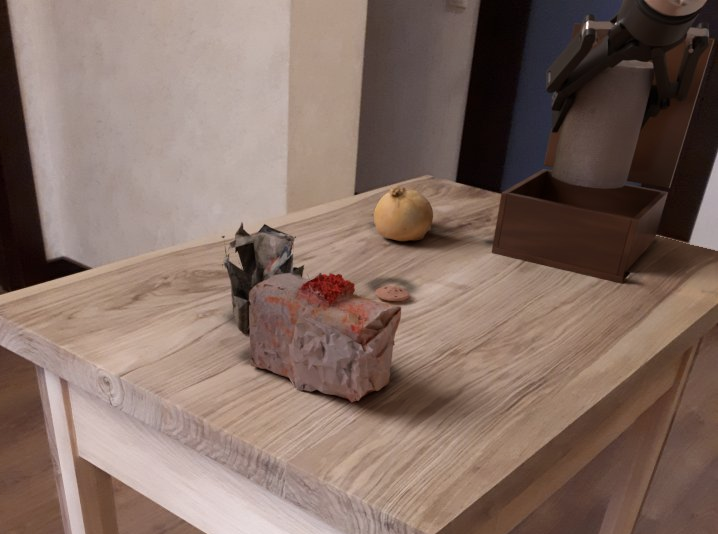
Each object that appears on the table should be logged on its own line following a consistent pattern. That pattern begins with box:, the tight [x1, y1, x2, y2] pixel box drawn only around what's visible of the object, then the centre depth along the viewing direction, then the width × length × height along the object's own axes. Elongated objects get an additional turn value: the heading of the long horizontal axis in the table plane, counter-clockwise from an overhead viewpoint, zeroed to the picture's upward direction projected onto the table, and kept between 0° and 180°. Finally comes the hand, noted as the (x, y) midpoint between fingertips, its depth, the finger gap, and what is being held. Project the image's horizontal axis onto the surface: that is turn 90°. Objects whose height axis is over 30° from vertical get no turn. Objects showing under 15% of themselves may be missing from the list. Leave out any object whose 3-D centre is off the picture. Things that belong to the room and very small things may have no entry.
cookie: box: [374, 285, 411, 302], centre depth 91 cm, size 4×4×1 cm
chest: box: [491, 168, 669, 284], centre depth 107 cm, size 17×18×8 cm
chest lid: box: [543, 22, 715, 189], centre depth 106 cm, size 18×18×1 cm
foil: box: [221, 221, 310, 334], centre depth 85 cm, size 12×11×15 cm
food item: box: [248, 272, 402, 403], centre depth 71 cm, size 14×8×10 cm, turn 58°
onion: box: [373, 185, 434, 242], centre depth 107 cm, size 8×8×7 cm
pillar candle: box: [551, 60, 655, 189], centre depth 99 cm, size 10×10×15 cm
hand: (593, 125), depth 102 cm, fingers closed on pillar candle, 9 cm apart
